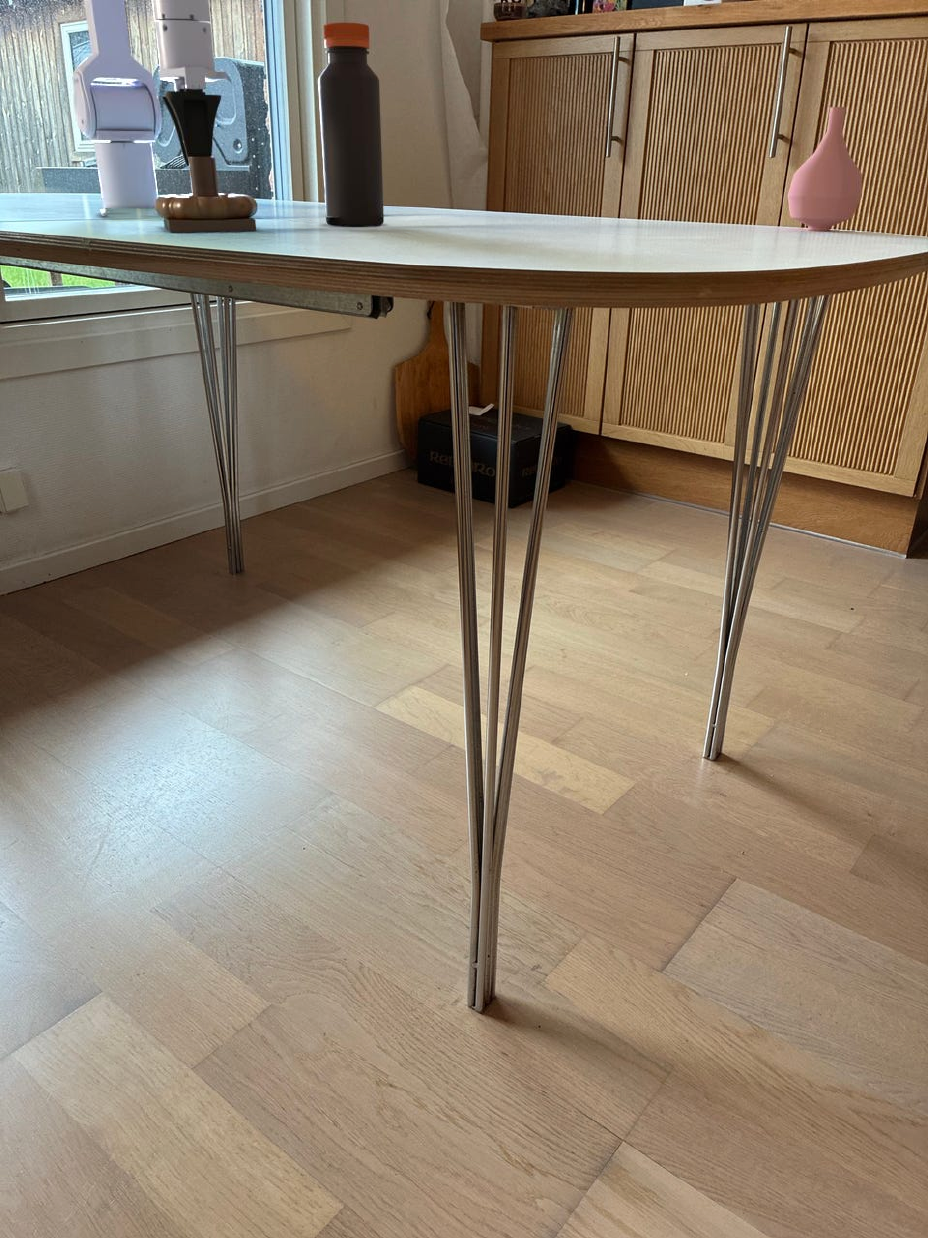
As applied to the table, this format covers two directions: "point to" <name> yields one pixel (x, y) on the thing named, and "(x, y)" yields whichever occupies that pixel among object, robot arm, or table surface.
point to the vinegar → (350, 129)
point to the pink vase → (826, 181)
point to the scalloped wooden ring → (206, 207)
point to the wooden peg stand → (207, 186)
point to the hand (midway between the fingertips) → (198, 166)
